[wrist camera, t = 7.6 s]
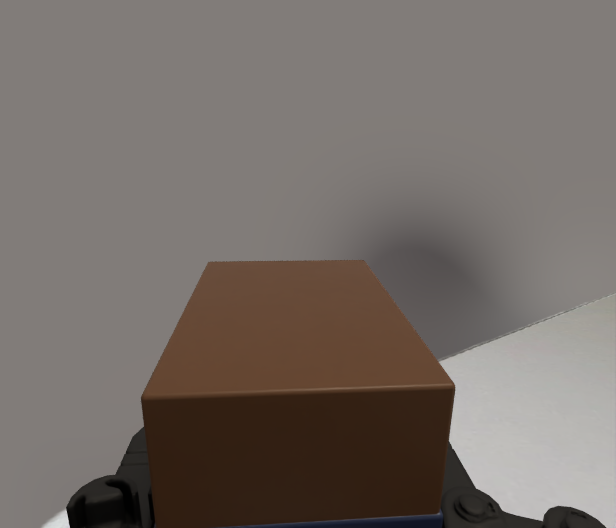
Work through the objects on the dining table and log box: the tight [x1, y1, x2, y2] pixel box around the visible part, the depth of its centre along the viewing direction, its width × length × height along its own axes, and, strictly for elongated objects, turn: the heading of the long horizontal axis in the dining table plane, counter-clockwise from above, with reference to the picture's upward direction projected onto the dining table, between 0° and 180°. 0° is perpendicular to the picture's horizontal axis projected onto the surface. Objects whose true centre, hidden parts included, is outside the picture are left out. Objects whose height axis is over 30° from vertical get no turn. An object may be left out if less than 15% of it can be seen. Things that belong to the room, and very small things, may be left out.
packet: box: [141, 260, 455, 528], centre depth 11 cm, size 6×4×11 cm
